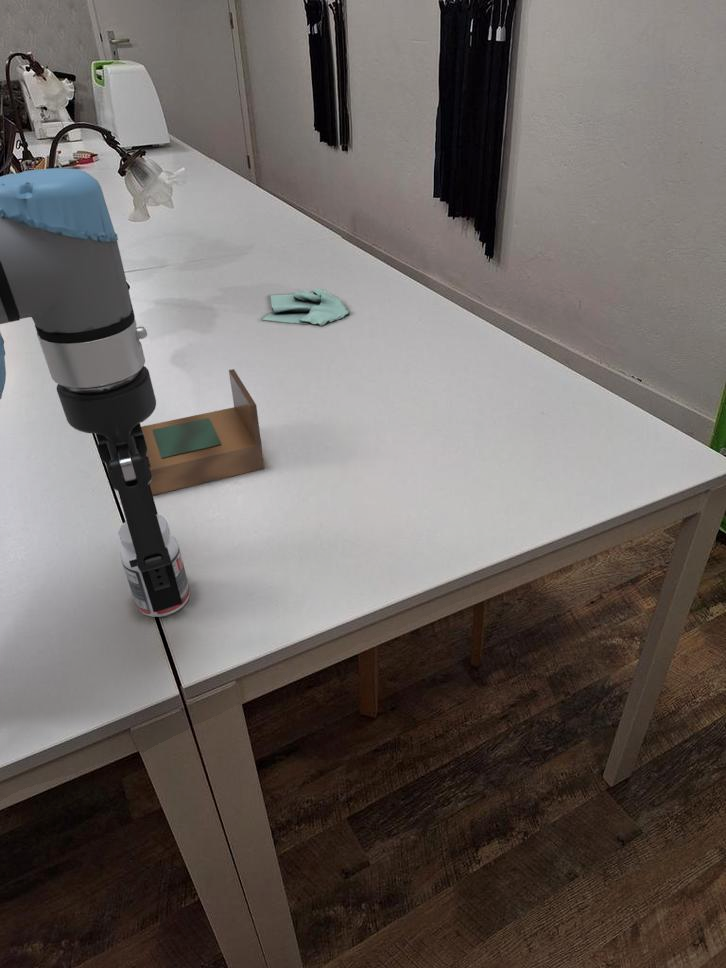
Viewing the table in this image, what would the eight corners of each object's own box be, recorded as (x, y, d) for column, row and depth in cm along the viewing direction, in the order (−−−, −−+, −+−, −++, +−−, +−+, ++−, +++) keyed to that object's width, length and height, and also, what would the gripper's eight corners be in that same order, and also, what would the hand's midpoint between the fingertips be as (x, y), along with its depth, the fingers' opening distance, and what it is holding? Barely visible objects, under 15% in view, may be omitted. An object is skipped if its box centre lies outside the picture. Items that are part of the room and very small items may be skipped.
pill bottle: (195, 580, 72) (178, 509, 67) (185, 618, 68) (166, 545, 62) (143, 581, 72) (122, 510, 67) (129, 620, 68) (106, 547, 62)
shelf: (146, 497, 85) (129, 431, 80) (135, 452, 95) (118, 390, 89) (264, 468, 90) (256, 404, 85) (242, 429, 99) (233, 368, 94)
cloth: (328, 330, 131) (327, 319, 130) (237, 315, 139) (235, 304, 137) (370, 298, 146) (370, 288, 145) (286, 286, 154) (285, 276, 152)
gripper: (172, 432, 46) (219, 634, 59) (129, 317, 65) (172, 488, 78) (60, 457, 44) (134, 662, 56) (49, 330, 63) (107, 504, 75)
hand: (156, 561), depth 67 cm, fingers open, 13 cm apart
